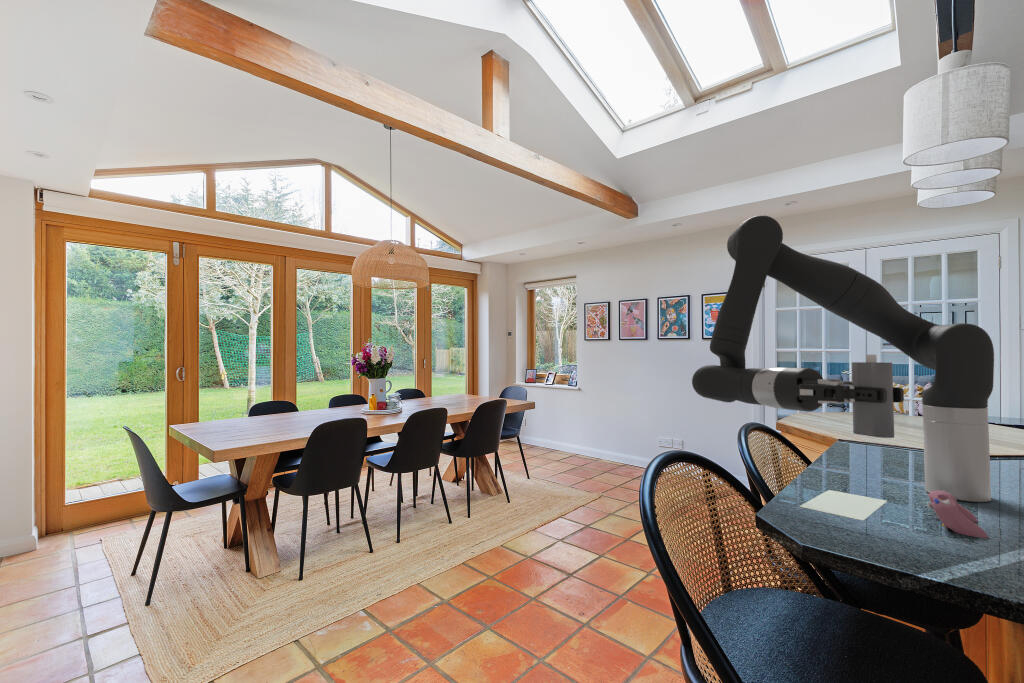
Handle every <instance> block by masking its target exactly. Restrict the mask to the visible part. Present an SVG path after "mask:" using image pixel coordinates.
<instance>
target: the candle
mask: <svg viewBox="0 0 1024 683" xmlns="http://www.w3.org/2000/svg"><path fill="white" fill-rule="evenodd" d="M877 356H878V355H877V354H865V362H862V361H861V362H860V361H859V362H855V361H852V362H851V381H852V385H853V386H856V389H857V387H875V388H885V389H886V391H887V401H886V402H885V403H872V402H860V401H857V402H854V403H852V433H853V434H855V435H860V436H867V437H872V438H880V439H881V438H884V439H894V438H895V414H894V413H895V412H894V409H895V408H894V407H895V406H894V402H893V387H894V380H893V379H894V378H893V377H894V376H893V374H894V373H893V362H883V361H882V362H879V361H878V362H877V359H878V358H877Z"/></svg>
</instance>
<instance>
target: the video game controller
mask: <svg viewBox="0 0 1024 683" xmlns="http://www.w3.org/2000/svg"><path fill="white" fill-rule="evenodd" d="M927 496H928V498H929V501H927V502H926V504H927V507H928V508H929V509H930V510H932V511H934V515H936V517H937V518H938V520H940V521H941V523H942V524H941V526H942V527H945V528H946V529H947V530H952V531H953V532H954V533H956V534H959V535H960V534H961V535H965V536H968V537H976V538H982V539H989V536H988V534H987V533H986V532H985V530H984V529H983V528H982V527H981V526H980V525H978V524H976V523H978V522H979V521H978V518H977V517H976V516H975V515H974V514H973V513H972V511H970V510H969V509H966V508H965V507H963V506H962V505H961V504H959V503H958V502H957V501H958V500H956V498H955V497H954V496H953V495H951V494H950V493H948V492H945V491H932V492H929V493H928V494H927Z"/></svg>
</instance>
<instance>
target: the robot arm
mask: <svg viewBox="0 0 1024 683" xmlns="http://www.w3.org/2000/svg"><path fill="white" fill-rule="evenodd" d="M783 233H784V232H783V228H782V226H781V225H780V223H779V222H778V220H776V219H775V218H774V217H771V216H770V215H764V214H763V215H761V214H760V215H755V216H752V217H750V218H748V219H746V220H744V221H743V222H742V223H740V225H738V226H737V227H736V228H735V229H734V231H733V232H731V234H730V235H729V236H728V239H727V242H726V248H727V252H728V254H729V256H730V258H732V259H733V261H735V264H734V269H733V273H732V274H733V275H732V278H731V280H730V284H729V286H728V289H727V292H726V294H725V297H724V299H723V301H722V304H721V306H720V308H719V311H718V314H717V316H716V320H715V322H714V323H715V324H714V328H713V331H712V334H711V339H710V343H709V350H710V352H711V353H712V354H714V355H715V356H716V357H718V358H719V364H720V365H716V364H715V365H714V364H708V365H703V366H701V367H699V368H698V369H697V370H695V372H694V374H693V376H692V378H691V384H692V388H693V390H694V391H695V392H696V394H697V395H699V396H700V397H703V398H706V399H710V400H714V401H718V402H723V403H733V402H736V401H738V402H740V403H741V402H742V403H745V404H751V405H756V406H757V405H758V406H759V405H760V406H765V407H770V408H775V409H782V410H792V411H799V412H809V413H810V412H814V411H816V410H818V409H819V408H820V407H821V406H822V404H845V403H850V404H853V403H854V402H857V401H860V402H872V403H885V402H886V401H887V391H886V389H885V388H875V387H857V389H856V386H853V385H852V380H841V379H836V378H823V376H822V375H821V373H820V372H819V371H817V370H816V369H814V368H809V367H770V368H760V367H758V368H755V367H754V368H753V367H752V368H746V349H747V345H748V342H749V339H750V334H751V330H752V326H753V323H754V318H755V314H756V311H757V307H758V304H759V299H760V297H761V293H762V289H763V287H764V284H765V282H766V280H767V277H770V278H772V279H774V280H776V281H778V282H780V283H782V284H784V285H785V286H786V287H788V288H790V289H791V290H793V291H794V292H797V293H798V294H799V295H801V296H803V297H804V298H807V299H809V300H810V301H811V302H813V303H815V304H817V305H819V306H820V307H822V308H823V309H825V310H827V311H829V312H830V313H833V314H834V315H836V316H838V317H840V318H843V319H844V320H847V321H848V322H850V323H852V324H854V325H855V326H857V327H858V328H861V329H863V330H865V331H867V332H869V333H871V334H874V335H875V336H877V337H879V338H881V339H882V340H884V341H886V342H887V343H888V344H890V345H892V346H893V347H895V348H896V349H898V350H899V351H900V352H902V353H904V354H905V355H906V356H908V357H909V358H910V359H911V360H913V361H915V362H917V363H918V364H919V365H922V366H923V367H925V368H926V369H930V370H934V372H935V373H934V374H935V375H934V381H933V383H932V385H930V387H928V388H926V389H925V390H923V392H922V394H921V403H922V406H921V408H922V428H923V429H922V430H923V431H922V432H923V433H922V434H923V435H922V436H923V458H924V459H923V462H924V467H923V468H924V492H926V493H928V494H930V493H929V492H932V491H945V492H948V493H950V494H951V495H953V496H954V497H955V498H956V500H957V501H965V502H975V503H976V502H977V503H985V502H990V501H992V488H991V487H992V486H991V485H992V484H991V483H992V482H991V477H992V476H991V457H990V456H991V455H990V454H991V453H990V432H989V428H990V426H989V408H988V407H989V406H988V404H989V402H988V401H989V398H990V397H991V395H992V392H993V390H994V376H995V375H994V374H995V373H994V370H995V352H994V351H995V349H994V345H993V341H992V338H991V337H990V334H988V332H987V331H986V330H985V329H983V327H982V328H981V327H980V326H979V325H976V324H972V323H960V322H959V323H952V324H950V323H949V324H937V323H933V322H931V321H929V320H927V319H924V318H923V317H920V316H918V315H916V314H914V313H912V312H910V311H908V310H907V309H905V307H902V306H901V304H899V303H898V302H897V301H896V300H895V299H894V297H893V296H892V295H891V294H890V292H889V291H888V290H887V289H886V288H885V287H884V286H883V285H882V284H881V283H880V282H878V281H877V280H875V279H874V278H872V277H869V276H867V275H866V274H864V273H862V272H860V271H858V270H856V269H855V268H852V267H851V266H848V265H846V264H845V265H844V264H842V263H839V262H835V261H832V260H830V259H829V260H828V259H823V258H820V257H816V256H812V255H808V254H805V253H803V252H799V251H797V250H796V249H793V248H792V247H790V246H788V245H787V244H785V243H783V239H784V238H783V237H784V234H783ZM904 400H905V392H904V389H903V388H902V387H898V386H897V387H896V386H893V403H903V402H904Z"/></svg>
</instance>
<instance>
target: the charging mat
mask: <svg viewBox="0 0 1024 683" xmlns="http://www.w3.org/2000/svg"><path fill="white" fill-rule="evenodd" d="M887 502H888V500H885V499H880V498H875V497H869V496H863V495H858V494H853V493H848V492H842V491H837V490H832V489H828V490H826V491H824V492H823V493H821V494H819V495H817V496H816V497H814V498H811V499H809V500H808V501H806V502H804V503H803V504H801V505H799V506H798V507H799V508H804V509H808V510H811V511H816V512H820V513H821V512H822V513H826V514H832V515H834V516H835V515H836V516H838V517H844V518H848V519H855V520H858V521H862V522H864V521H866V519H867V518H869V517H870V516H871V515H873V514H874V513H875V512H876V511H878V510H879V509H880V508H881V507H882V506H884V505H885V504H886V503H887Z"/></svg>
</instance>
